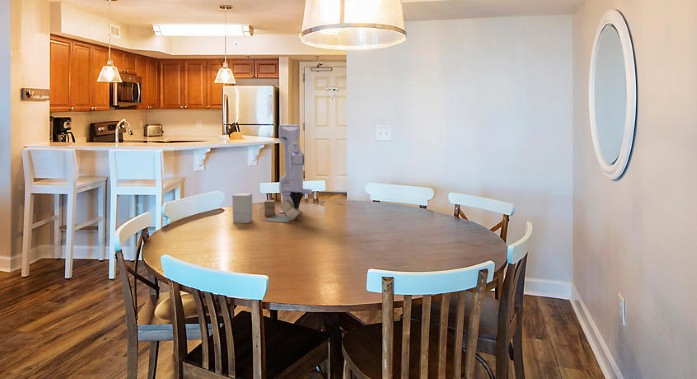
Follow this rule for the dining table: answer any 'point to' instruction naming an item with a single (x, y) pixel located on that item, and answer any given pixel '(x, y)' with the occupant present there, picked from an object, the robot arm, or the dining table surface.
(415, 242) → the dining table surface
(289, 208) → the maple block
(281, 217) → the felt mat
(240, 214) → the supplement box
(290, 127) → the robot arm
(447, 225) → the dining table surface
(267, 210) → the walnut block
